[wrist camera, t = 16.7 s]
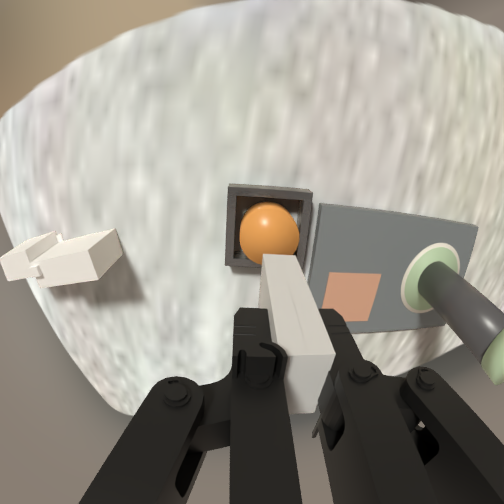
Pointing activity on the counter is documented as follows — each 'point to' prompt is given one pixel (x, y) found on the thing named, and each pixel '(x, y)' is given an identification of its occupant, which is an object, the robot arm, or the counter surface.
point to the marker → (467, 315)
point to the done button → (268, 231)
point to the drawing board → (382, 265)
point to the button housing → (271, 192)
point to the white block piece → (63, 258)
